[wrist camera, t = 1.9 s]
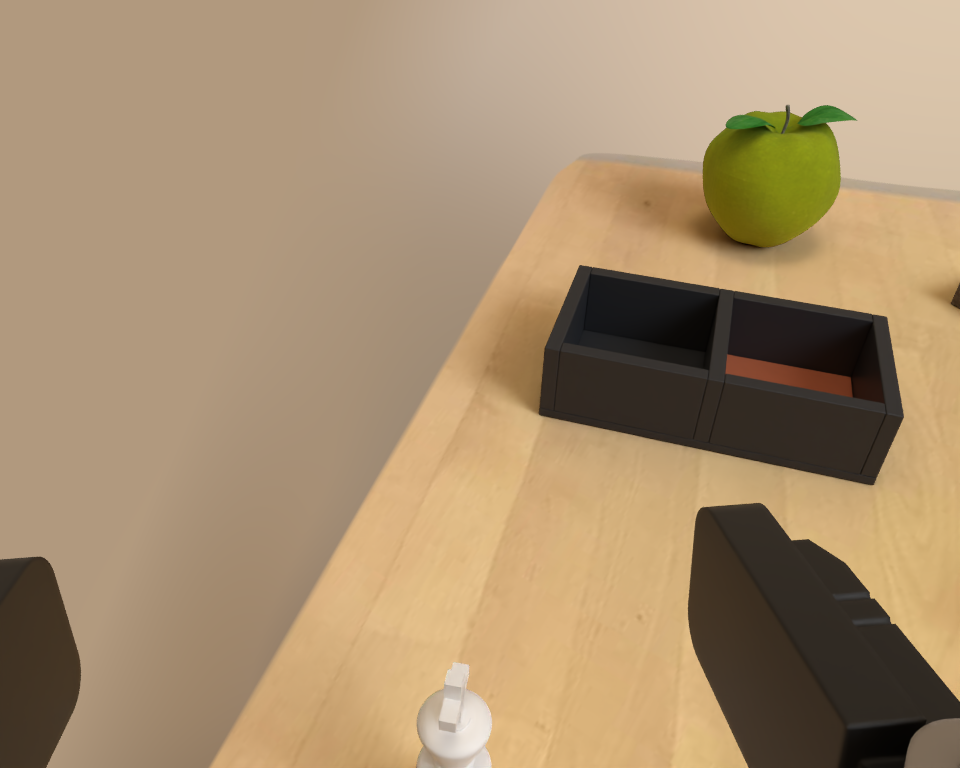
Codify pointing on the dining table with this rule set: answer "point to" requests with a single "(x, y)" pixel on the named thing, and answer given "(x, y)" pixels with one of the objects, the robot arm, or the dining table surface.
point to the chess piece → (454, 725)
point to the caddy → (725, 372)
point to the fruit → (773, 174)
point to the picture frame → (956, 298)
